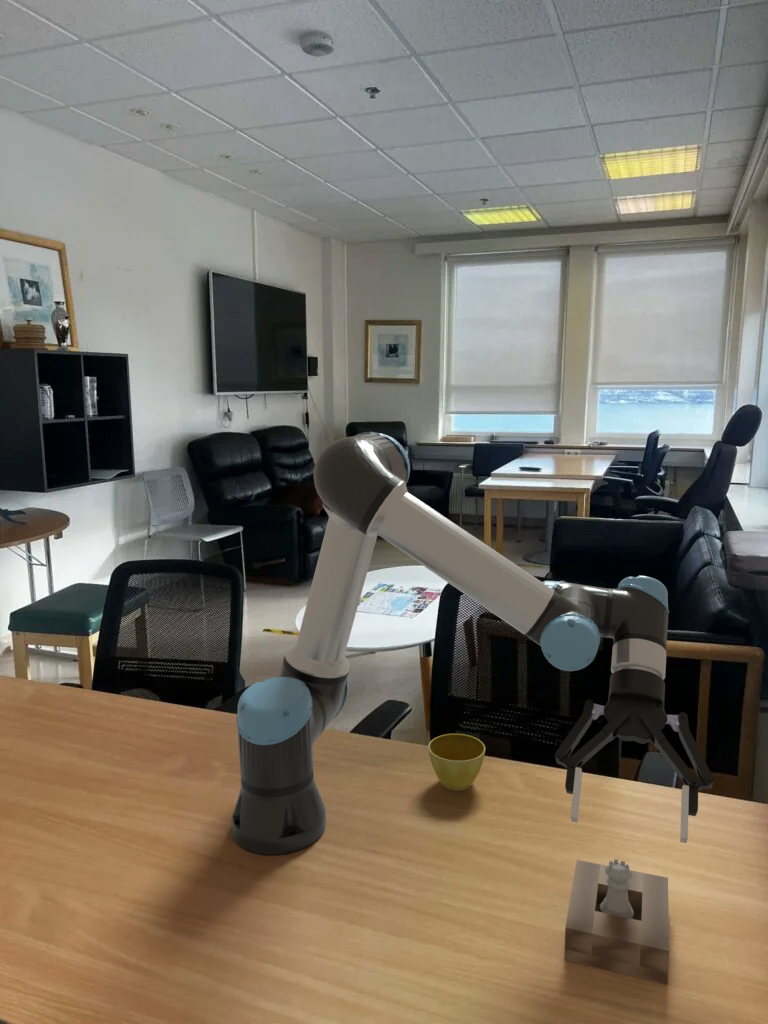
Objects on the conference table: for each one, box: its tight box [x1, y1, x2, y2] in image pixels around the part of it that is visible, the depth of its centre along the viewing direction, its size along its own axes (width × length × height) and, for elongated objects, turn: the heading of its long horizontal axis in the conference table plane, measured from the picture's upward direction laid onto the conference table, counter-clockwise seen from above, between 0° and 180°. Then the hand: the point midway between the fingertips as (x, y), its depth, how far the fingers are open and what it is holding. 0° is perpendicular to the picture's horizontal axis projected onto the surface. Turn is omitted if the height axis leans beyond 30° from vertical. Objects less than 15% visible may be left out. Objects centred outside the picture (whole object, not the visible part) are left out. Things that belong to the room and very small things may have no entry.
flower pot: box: [427, 733, 486, 792], centre depth 133 cm, size 10×10×7 cm
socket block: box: [563, 859, 670, 985], centre depth 97 cm, size 12×14×4 cm
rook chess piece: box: [599, 858, 634, 919], centre depth 96 cm, size 4×4×8 cm
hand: (627, 830), depth 97 cm, fingers open, 13 cm apart
